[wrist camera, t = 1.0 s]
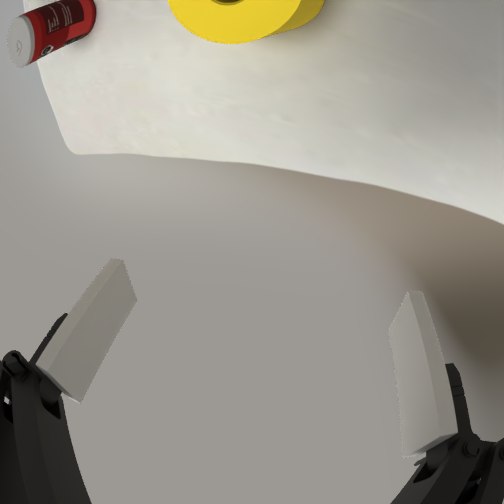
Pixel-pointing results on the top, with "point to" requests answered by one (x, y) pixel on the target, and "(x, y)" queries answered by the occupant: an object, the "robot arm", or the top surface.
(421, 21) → the top surface
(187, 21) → the yellow toilet paper roll
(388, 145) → the top surface
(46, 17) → the canned food
